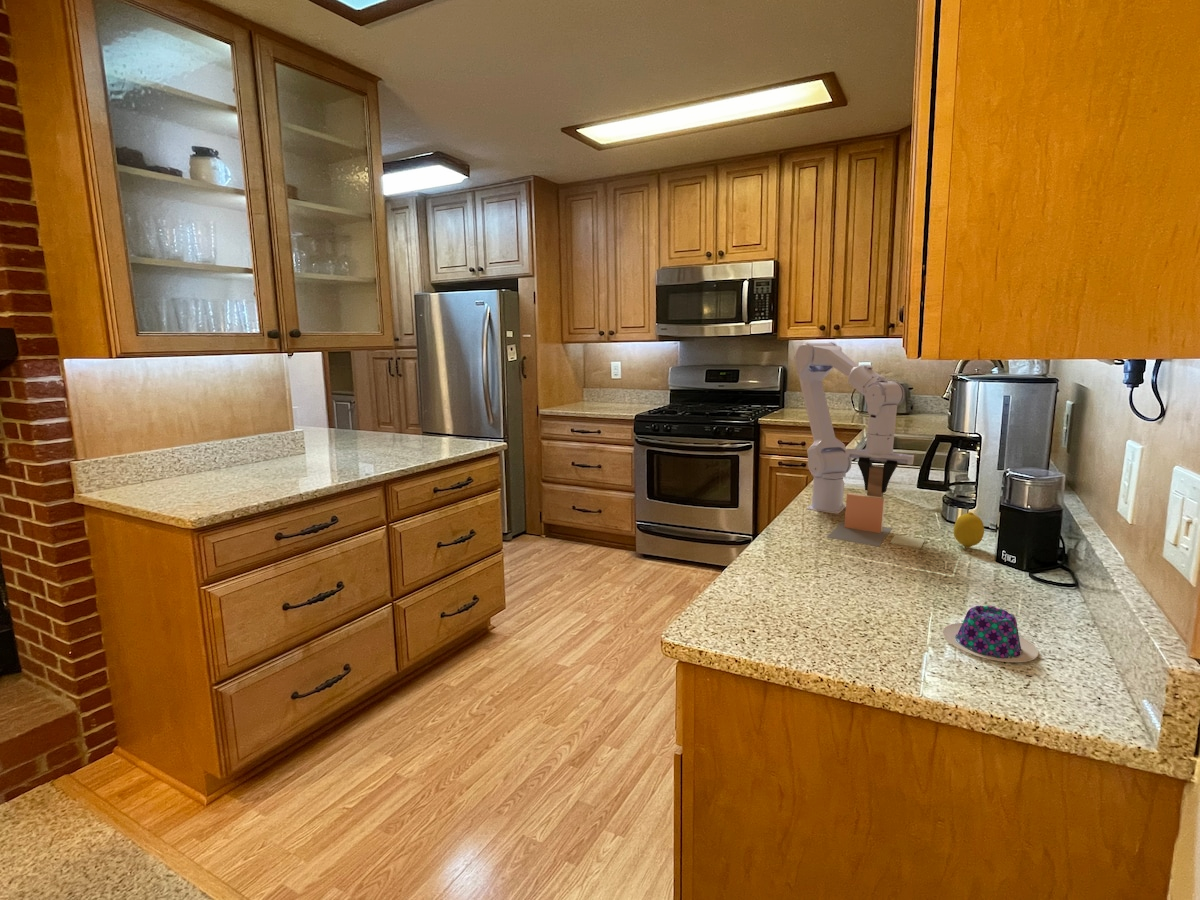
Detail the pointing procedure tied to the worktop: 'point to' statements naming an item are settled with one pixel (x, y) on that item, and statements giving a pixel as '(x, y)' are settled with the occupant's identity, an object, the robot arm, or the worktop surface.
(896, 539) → the board
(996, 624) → the purple patterned hat
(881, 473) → the block
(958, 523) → the lemon
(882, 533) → the mat
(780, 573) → the worktop surface
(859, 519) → the tile
